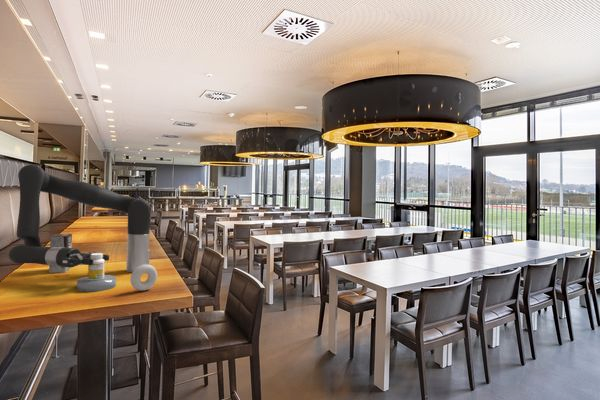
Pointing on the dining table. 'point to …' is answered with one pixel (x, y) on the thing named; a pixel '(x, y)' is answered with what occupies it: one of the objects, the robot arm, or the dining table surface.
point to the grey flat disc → (96, 284)
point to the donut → (137, 274)
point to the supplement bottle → (96, 267)
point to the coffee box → (60, 241)
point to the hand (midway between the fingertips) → (100, 259)
